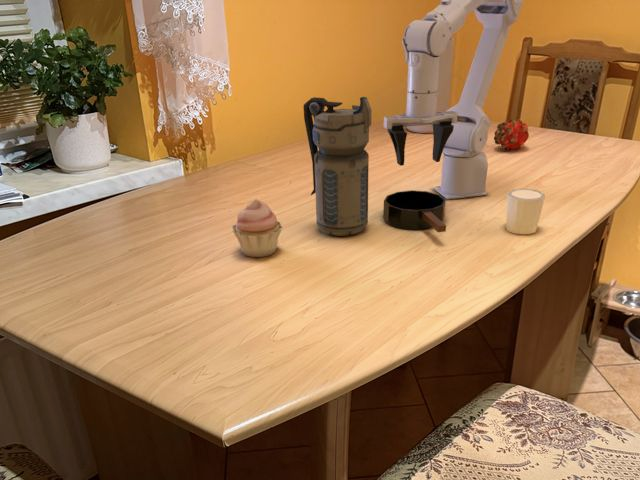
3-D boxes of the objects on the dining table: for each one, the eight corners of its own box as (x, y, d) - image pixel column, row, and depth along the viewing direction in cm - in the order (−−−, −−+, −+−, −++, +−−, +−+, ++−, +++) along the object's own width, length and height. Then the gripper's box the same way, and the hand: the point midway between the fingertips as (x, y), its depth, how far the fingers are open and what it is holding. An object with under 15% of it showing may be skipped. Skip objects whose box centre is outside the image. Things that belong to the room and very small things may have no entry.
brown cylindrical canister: (321, 215, 133) (318, 88, 120) (379, 224, 128) (382, 92, 115) (296, 231, 126) (290, 98, 113) (356, 242, 120) (357, 103, 107)
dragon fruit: (493, 159, 171) (516, 156, 179) (520, 144, 164) (542, 142, 172) (482, 129, 171) (506, 128, 179) (508, 113, 164) (532, 112, 172)
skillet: (376, 212, 134) (377, 193, 132) (430, 206, 136) (431, 188, 134) (410, 248, 117) (411, 228, 115) (470, 241, 119) (472, 221, 117)
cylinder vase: (404, 133, 191) (408, 41, 178) (406, 124, 201) (411, 36, 188) (447, 134, 189) (454, 41, 176) (447, 124, 199) (453, 36, 186)
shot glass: (540, 224, 126) (546, 189, 122) (538, 237, 120) (544, 201, 117) (504, 221, 128) (509, 187, 124) (501, 233, 122) (506, 198, 119)
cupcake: (243, 265, 113) (237, 211, 108) (228, 247, 120) (222, 195, 115) (292, 255, 116) (289, 202, 111) (274, 238, 123) (271, 187, 118)
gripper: (393, 97, 116) (390, 171, 124) (466, 91, 119) (460, 164, 126) (380, 90, 122) (379, 161, 129) (451, 85, 125) (445, 155, 132)
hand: (418, 162), depth 128 cm, fingers open, 7 cm apart
